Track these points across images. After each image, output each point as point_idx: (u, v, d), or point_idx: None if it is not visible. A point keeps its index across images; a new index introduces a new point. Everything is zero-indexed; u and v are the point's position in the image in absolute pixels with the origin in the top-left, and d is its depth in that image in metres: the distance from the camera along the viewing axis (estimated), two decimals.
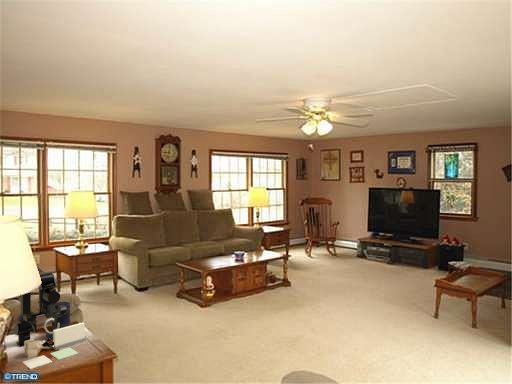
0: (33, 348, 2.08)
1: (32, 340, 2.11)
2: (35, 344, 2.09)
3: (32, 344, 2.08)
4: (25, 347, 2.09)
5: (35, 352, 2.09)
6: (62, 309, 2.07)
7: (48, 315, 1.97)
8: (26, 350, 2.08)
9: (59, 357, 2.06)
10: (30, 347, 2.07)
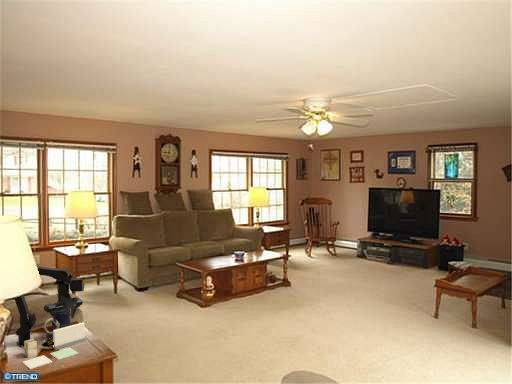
0: (33, 348, 2.08)
1: (32, 340, 2.11)
2: (35, 344, 2.09)
3: (32, 344, 2.08)
4: (25, 347, 2.09)
5: (35, 352, 2.09)
6: (78, 301, 2.29)
7: (66, 306, 2.20)
8: (26, 350, 2.08)
9: (59, 357, 2.06)
10: (30, 347, 2.07)
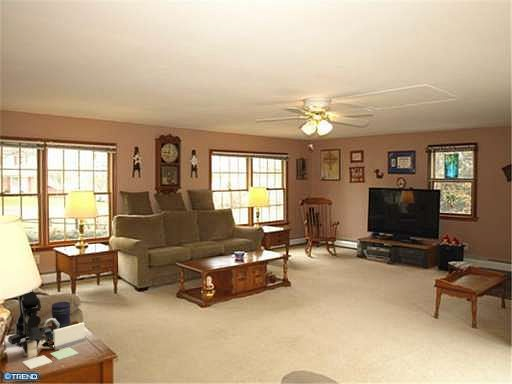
0: (33, 348, 2.08)
1: None
2: (35, 344, 2.09)
3: (32, 344, 2.08)
4: None
5: (35, 352, 2.09)
6: (47, 331, 2.13)
7: (32, 338, 2.03)
8: None
9: (59, 357, 2.06)
10: (30, 347, 2.07)
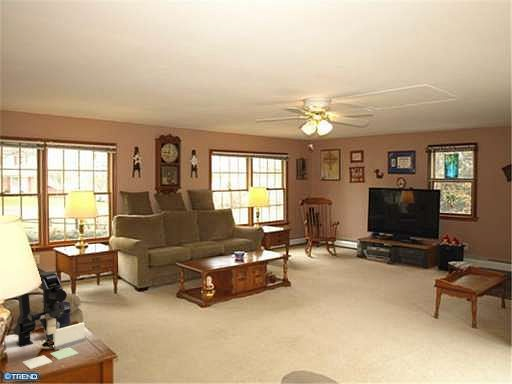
0: (52, 325, 2.08)
1: (51, 318, 2.11)
2: (54, 321, 2.09)
3: (51, 321, 2.08)
4: None
5: (54, 329, 2.09)
6: (66, 309, 2.13)
7: (52, 314, 2.03)
8: None
9: (59, 357, 2.06)
10: (49, 324, 2.07)
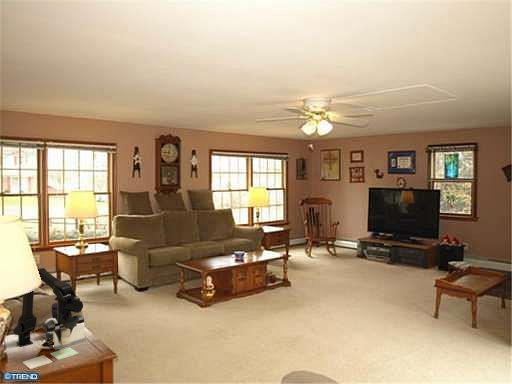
0: (67, 335, 2.10)
1: (65, 328, 2.12)
2: (69, 332, 2.10)
3: (65, 332, 2.09)
4: None
5: (69, 340, 2.10)
6: (79, 319, 2.14)
7: (67, 325, 2.04)
8: None
9: (59, 357, 2.06)
10: (64, 335, 2.08)
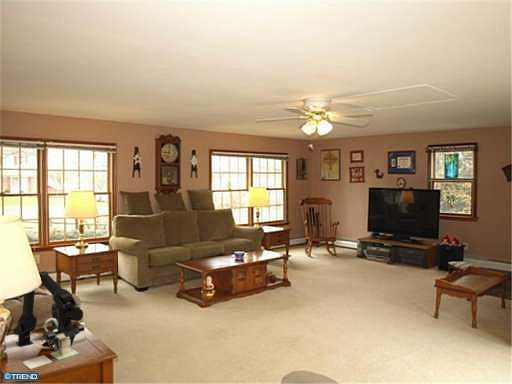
0: (67, 346, 2.10)
1: (65, 338, 2.12)
2: (69, 342, 2.11)
3: (66, 342, 2.09)
4: (59, 345, 2.10)
5: (69, 350, 2.11)
6: (80, 327, 2.14)
7: (67, 334, 2.04)
8: (60, 348, 2.10)
9: (59, 357, 2.06)
10: (64, 345, 2.09)
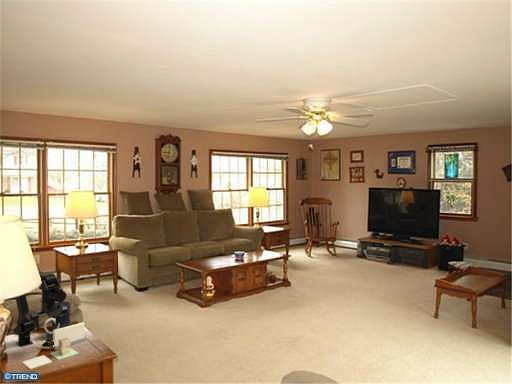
0: (67, 346, 2.10)
1: (65, 338, 2.12)
2: (69, 342, 2.11)
3: (66, 342, 2.09)
4: (59, 345, 2.10)
5: (69, 350, 2.11)
6: (63, 308, 2.17)
7: (50, 314, 2.08)
8: (60, 348, 2.10)
9: (59, 357, 2.06)
10: (64, 345, 2.09)
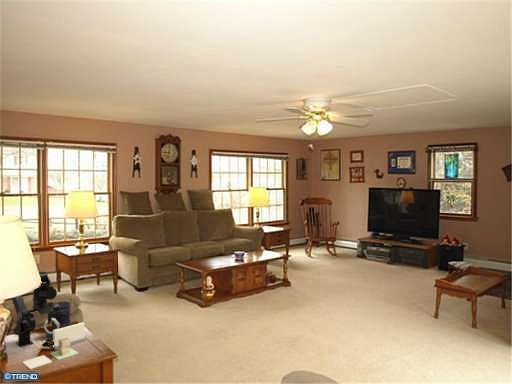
0: (67, 346, 2.10)
1: (65, 338, 2.12)
2: (69, 342, 2.11)
3: (66, 342, 2.09)
4: (59, 345, 2.10)
5: (69, 350, 2.11)
6: (55, 306, 2.19)
7: (42, 311, 2.09)
8: (60, 348, 2.10)
9: (59, 357, 2.06)
10: (64, 345, 2.09)
